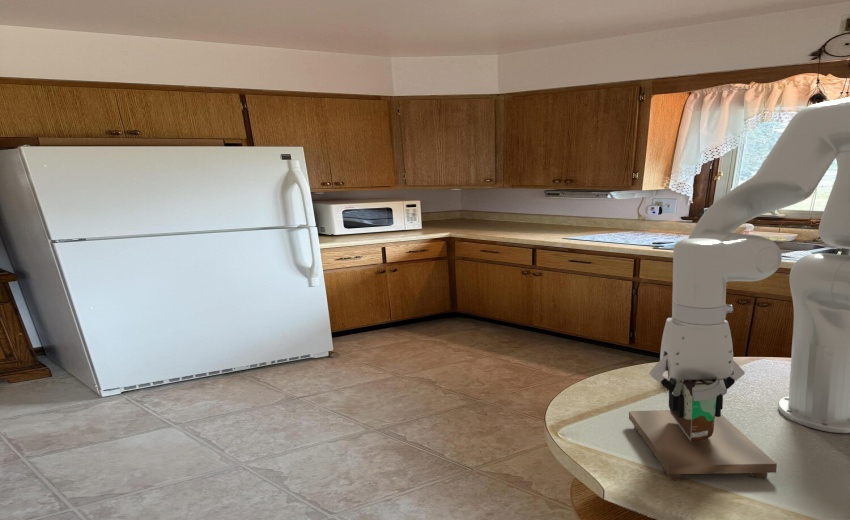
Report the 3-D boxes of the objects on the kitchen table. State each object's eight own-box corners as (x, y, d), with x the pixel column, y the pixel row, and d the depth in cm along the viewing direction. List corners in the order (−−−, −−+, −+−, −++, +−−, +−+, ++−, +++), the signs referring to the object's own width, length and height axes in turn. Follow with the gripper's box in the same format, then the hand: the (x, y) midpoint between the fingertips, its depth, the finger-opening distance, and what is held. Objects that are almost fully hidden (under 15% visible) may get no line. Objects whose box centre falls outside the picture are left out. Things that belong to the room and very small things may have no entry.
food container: (736, 446, 71) (736, 388, 69) (694, 446, 72) (694, 389, 70) (702, 408, 83) (702, 357, 81) (667, 408, 84) (666, 358, 82)
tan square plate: (714, 423, 86) (715, 408, 85) (775, 481, 69) (776, 463, 69) (628, 425, 87) (628, 411, 87) (668, 482, 71) (668, 465, 70)
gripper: (738, 304, 77) (734, 401, 80) (635, 309, 79) (635, 404, 82) (767, 317, 70) (761, 423, 73) (654, 322, 71) (652, 426, 74)
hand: (695, 412), depth 77 cm, fingers closed on food container, 5 cm apart
